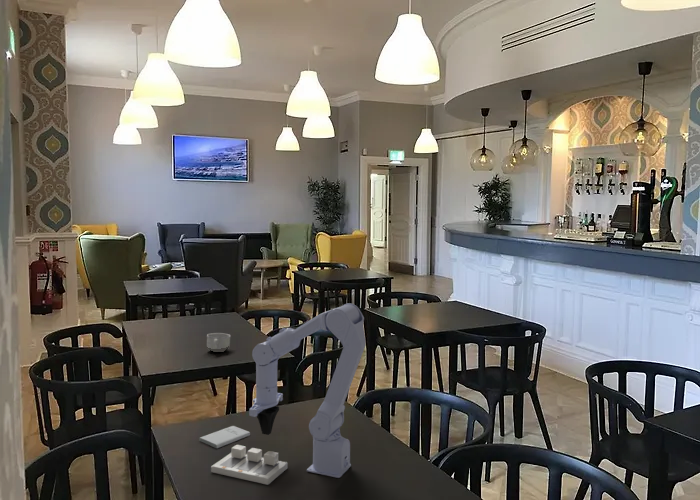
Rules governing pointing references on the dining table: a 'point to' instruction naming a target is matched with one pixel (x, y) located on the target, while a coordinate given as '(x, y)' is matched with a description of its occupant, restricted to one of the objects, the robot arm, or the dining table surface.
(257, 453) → the switch tab mid
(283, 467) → the panel
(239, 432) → the external hard drive
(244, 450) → the switch tab far
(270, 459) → the switch tab near
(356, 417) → the dining table surface
